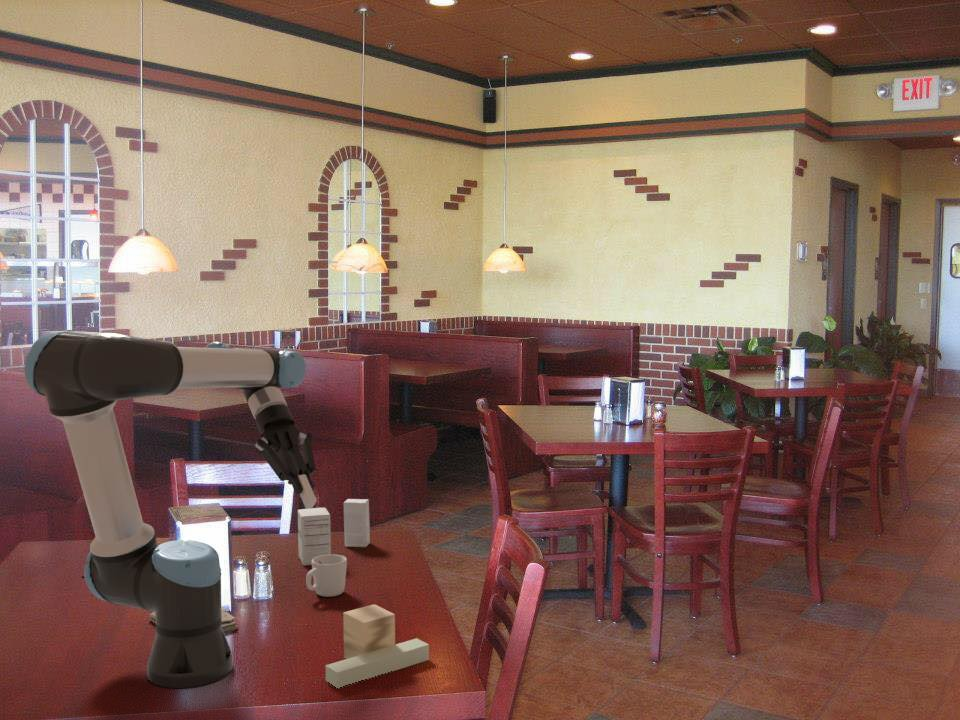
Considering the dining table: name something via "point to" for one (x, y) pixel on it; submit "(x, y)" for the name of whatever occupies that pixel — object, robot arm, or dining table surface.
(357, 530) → the skincare box
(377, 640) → the block
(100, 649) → the dining table surface
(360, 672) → the pale grey bar
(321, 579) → the cup
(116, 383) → the robot arm
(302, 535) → the supplement box
